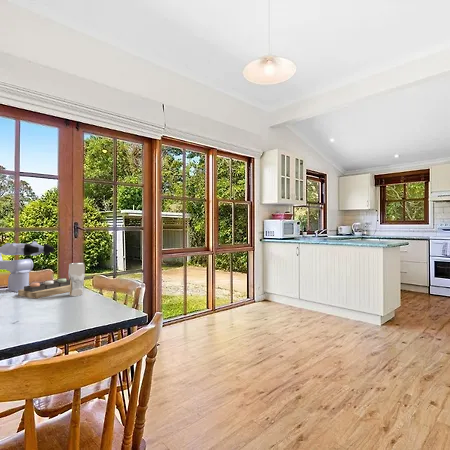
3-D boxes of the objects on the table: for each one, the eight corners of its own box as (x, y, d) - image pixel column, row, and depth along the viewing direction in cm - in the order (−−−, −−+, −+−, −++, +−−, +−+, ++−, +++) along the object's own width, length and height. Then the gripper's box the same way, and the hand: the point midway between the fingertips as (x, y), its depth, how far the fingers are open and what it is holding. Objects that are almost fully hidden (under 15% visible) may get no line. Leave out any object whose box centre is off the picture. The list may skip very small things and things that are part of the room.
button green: (55, 282, 157) (55, 279, 157) (62, 281, 160) (63, 278, 160) (61, 283, 155) (61, 280, 155) (68, 282, 159) (68, 278, 159)
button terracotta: (27, 287, 144) (27, 283, 144) (36, 286, 148) (36, 282, 148) (33, 288, 143) (33, 284, 143) (41, 287, 146) (41, 283, 146)
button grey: (42, 285, 151) (42, 281, 151) (50, 283, 154) (50, 280, 154) (47, 285, 149) (47, 282, 149) (55, 284, 152) (55, 281, 152)
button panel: (18, 295, 145) (18, 285, 145) (59, 287, 164) (59, 279, 164) (36, 298, 139) (36, 288, 139) (77, 290, 158) (77, 281, 158)
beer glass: (80, 296, 144) (80, 264, 144) (65, 296, 144) (65, 264, 144) (87, 293, 150) (87, 262, 151) (72, 293, 151) (73, 262, 151)
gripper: (13, 241, 148) (31, 241, 142) (42, 241, 161) (59, 241, 155) (12, 256, 148) (30, 256, 142) (41, 255, 161) (59, 255, 155)
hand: (46, 249), depth 149 cm, fingers open, 7 cm apart
